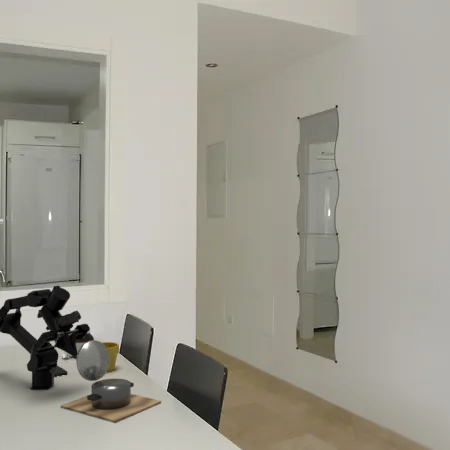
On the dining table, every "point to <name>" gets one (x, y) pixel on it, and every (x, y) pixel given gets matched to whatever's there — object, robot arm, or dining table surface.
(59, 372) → the smart home device
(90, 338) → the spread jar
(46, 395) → the dining table surface
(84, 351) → the lid
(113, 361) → the plant pot
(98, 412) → the board
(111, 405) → the cooker
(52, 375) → the robot arm
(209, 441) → the dining table surface
